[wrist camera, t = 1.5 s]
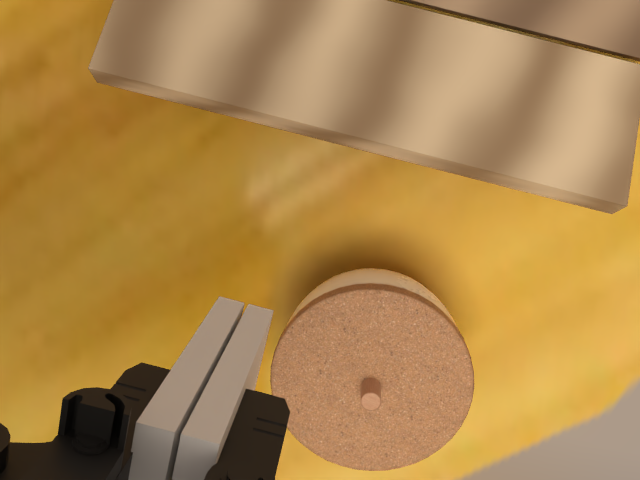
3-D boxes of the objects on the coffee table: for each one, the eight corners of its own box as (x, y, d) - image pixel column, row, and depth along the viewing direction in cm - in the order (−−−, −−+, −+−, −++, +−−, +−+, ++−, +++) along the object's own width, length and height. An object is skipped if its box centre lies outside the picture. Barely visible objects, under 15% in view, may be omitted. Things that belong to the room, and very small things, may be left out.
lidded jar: (333, 216, 38) (321, 264, 29) (486, 292, 38) (522, 362, 29) (262, 355, 41) (231, 438, 32) (405, 424, 41) (415, 524, 32)
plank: (97, 82, 32) (88, 68, 31) (144, -44, 34) (137, -63, 33) (611, 214, 32) (627, 206, 31) (631, 79, 34) (646, 66, 33)
